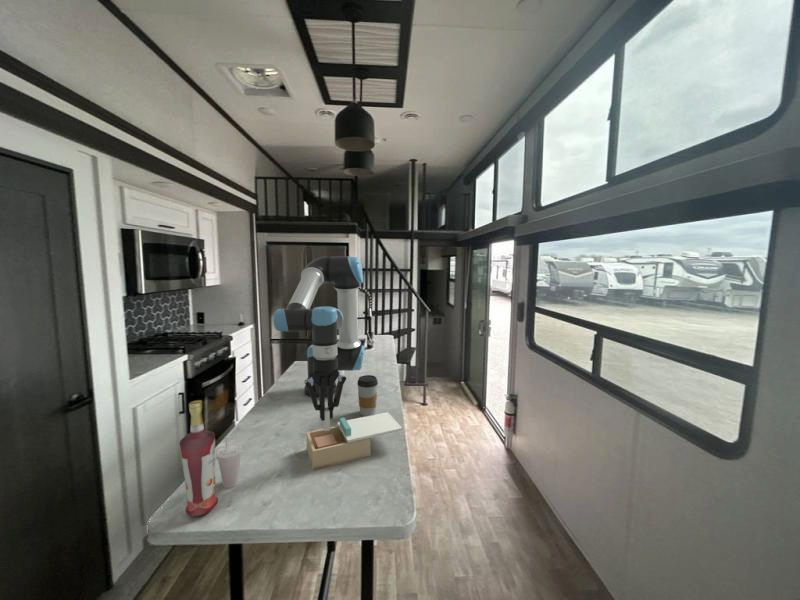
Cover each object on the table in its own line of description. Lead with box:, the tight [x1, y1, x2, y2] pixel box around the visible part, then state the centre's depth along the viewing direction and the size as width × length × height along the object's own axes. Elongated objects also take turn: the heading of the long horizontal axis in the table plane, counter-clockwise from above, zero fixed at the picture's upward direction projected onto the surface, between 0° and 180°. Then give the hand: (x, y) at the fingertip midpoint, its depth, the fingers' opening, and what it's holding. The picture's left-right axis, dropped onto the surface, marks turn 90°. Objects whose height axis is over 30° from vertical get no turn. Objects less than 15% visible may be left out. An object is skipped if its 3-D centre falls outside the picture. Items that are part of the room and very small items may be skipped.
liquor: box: [179, 399, 219, 517], centre depth 80 cm, size 7×7×28 cm
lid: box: [337, 411, 403, 443], centre depth 110 cm, size 13×19×3 cm
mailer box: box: [305, 425, 371, 471], centre depth 106 cm, size 12×18×6 cm, turn 115°
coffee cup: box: [357, 374, 379, 417], centre depth 134 cm, size 8×8×15 cm
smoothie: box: [215, 435, 243, 489], centre depth 91 cm, size 6×6×14 cm
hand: (326, 428), depth 104 cm, fingers closed
